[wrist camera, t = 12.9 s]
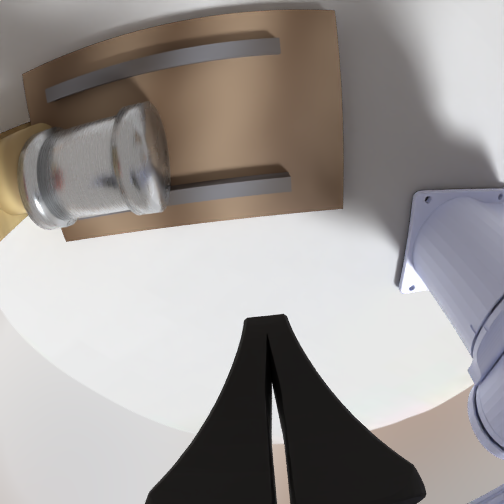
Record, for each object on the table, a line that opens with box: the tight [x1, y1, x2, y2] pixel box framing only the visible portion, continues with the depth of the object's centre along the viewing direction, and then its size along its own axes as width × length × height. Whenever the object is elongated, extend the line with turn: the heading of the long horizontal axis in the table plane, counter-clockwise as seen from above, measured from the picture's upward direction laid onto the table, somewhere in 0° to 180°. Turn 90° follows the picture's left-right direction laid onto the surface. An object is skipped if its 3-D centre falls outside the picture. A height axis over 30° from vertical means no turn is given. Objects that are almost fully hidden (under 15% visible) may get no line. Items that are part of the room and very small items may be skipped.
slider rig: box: [0, 10, 343, 242], centre depth 12 cm, size 22×11×9 cm, turn 96°
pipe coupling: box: [17, 101, 171, 230], centre depth 13 cm, size 6×5×5 cm
